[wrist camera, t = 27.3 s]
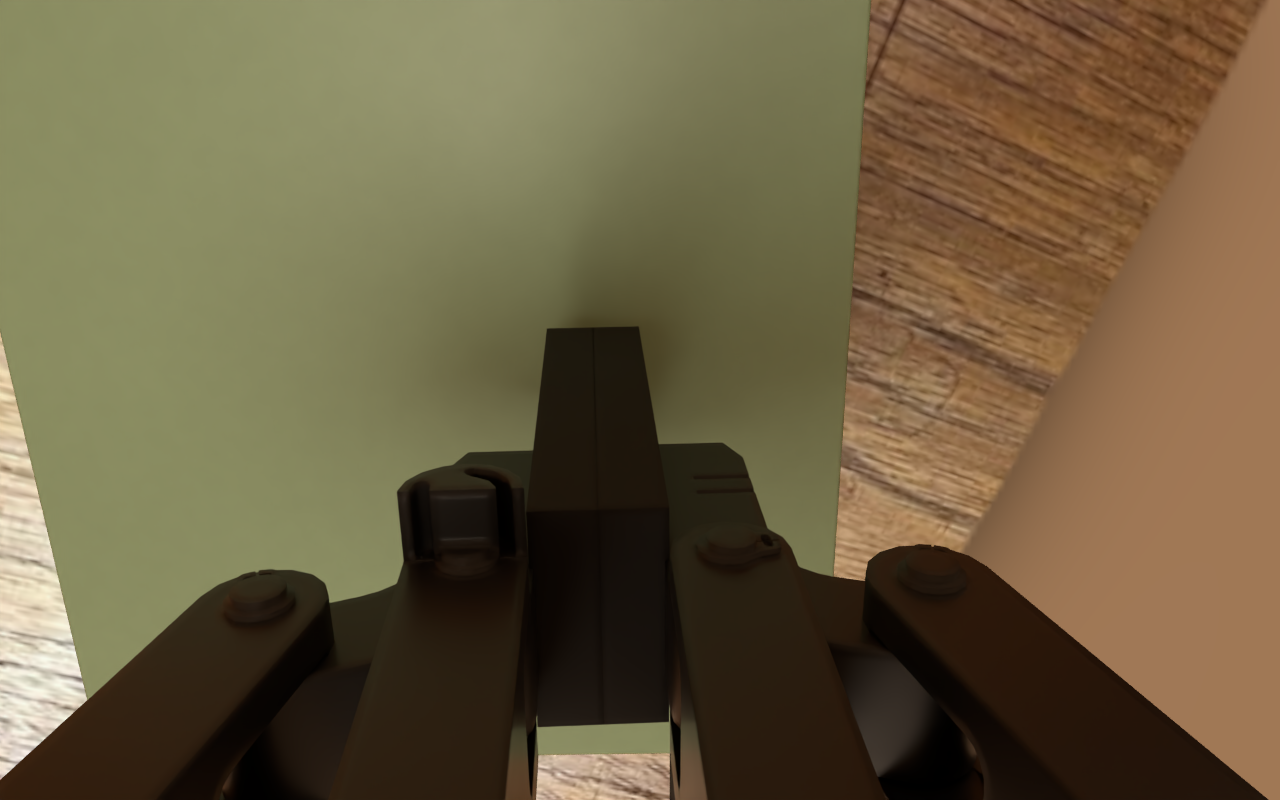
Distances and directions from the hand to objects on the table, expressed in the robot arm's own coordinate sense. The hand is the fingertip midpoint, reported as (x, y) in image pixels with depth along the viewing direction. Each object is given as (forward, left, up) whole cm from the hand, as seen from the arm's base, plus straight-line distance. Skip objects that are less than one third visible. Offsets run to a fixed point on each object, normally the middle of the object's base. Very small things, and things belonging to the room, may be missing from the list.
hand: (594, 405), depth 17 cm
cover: (+3, 0, -2) cm, 3 cm away
